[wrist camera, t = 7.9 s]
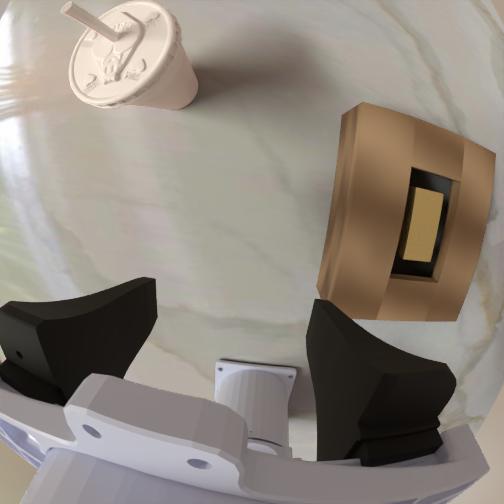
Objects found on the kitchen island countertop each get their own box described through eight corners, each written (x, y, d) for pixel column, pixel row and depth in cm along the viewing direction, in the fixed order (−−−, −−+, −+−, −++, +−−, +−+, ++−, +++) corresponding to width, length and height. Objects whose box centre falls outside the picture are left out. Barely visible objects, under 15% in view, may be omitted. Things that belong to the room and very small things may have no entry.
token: (404, 244, 21) (430, 262, 17) (380, 241, 21) (403, 259, 17) (414, 187, 19) (443, 193, 15) (389, 181, 20) (416, 187, 15)
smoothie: (216, 50, 17) (152, -62, 4) (214, 123, 19) (122, 63, 6) (142, 61, 17) (31, -4, 4) (138, 130, 19) (1, 114, 6)
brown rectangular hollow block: (430, 295, 22) (455, 321, 17) (316, 286, 23) (327, 316, 18) (460, 151, 18) (495, 153, 13) (341, 115, 18) (362, 102, 13)
